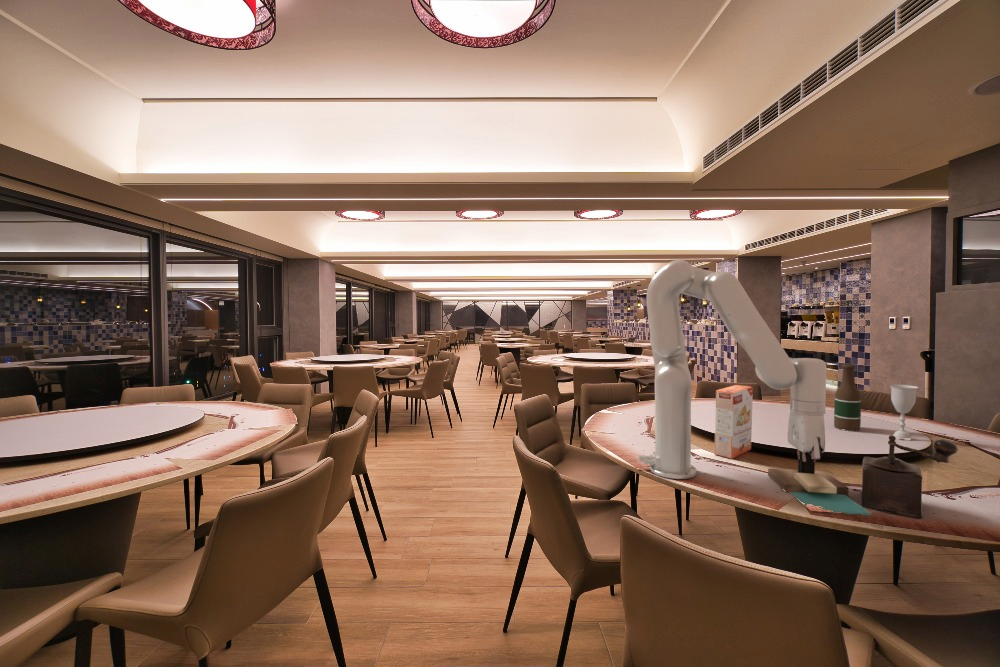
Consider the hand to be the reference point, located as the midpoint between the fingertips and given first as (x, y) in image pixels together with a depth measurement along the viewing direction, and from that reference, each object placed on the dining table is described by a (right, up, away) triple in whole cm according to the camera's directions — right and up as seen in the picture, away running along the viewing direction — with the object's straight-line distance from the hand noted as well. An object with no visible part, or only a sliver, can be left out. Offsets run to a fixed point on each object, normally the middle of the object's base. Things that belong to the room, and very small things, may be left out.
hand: (806, 475), depth 116 cm
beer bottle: (+49, +1, +49) cm, 69 cm away
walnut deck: (0, -3, 0) cm, 3 cm away
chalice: (+58, +1, +36) cm, 68 cm away
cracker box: (-5, -1, +26) cm, 27 cm away
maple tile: (-2, -1, -5) cm, 6 cm away
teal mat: (-2, -3, -11) cm, 12 cm away
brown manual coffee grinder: (+13, -3, -14) cm, 19 cm away
